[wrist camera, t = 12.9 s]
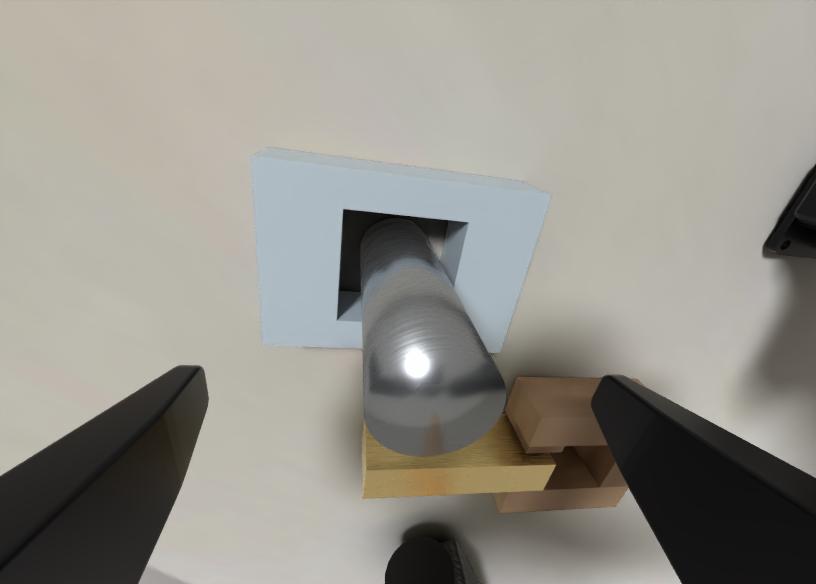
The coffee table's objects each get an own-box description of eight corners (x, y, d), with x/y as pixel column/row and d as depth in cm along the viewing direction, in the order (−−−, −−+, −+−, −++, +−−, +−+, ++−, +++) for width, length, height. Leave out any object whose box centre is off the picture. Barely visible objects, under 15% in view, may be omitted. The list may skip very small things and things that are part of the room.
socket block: (637, 379, 21) (677, 417, 18) (587, 464, 25) (615, 506, 22) (516, 376, 20) (541, 418, 17) (483, 467, 23) (499, 513, 21)
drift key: (527, 413, 21) (556, 464, 18) (517, 437, 22) (543, 490, 19) (364, 413, 19) (366, 470, 16) (361, 439, 20) (362, 498, 17)
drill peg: (433, 221, 15) (524, 353, 7) (422, 284, 16) (486, 455, 8) (362, 213, 14) (372, 348, 6) (357, 279, 15) (358, 457, 8)
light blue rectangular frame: (522, 181, 14) (552, 194, 12) (482, 322, 17) (500, 353, 15) (268, 147, 12) (250, 155, 10) (275, 311, 16) (262, 345, 13)
